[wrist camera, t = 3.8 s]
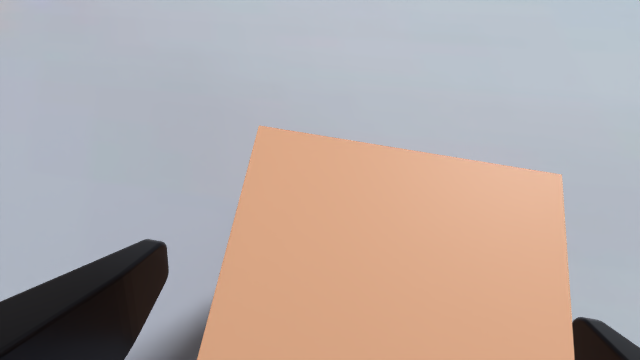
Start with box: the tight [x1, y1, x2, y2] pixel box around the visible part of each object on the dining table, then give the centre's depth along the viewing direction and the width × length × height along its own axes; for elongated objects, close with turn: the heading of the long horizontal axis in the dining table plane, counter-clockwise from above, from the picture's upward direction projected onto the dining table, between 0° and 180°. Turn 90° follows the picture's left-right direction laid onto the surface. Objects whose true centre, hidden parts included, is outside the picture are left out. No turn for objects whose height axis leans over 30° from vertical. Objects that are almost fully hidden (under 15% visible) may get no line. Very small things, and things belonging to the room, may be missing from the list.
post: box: [197, 126, 575, 360], centre depth 10 cm, size 4×4×11 cm
